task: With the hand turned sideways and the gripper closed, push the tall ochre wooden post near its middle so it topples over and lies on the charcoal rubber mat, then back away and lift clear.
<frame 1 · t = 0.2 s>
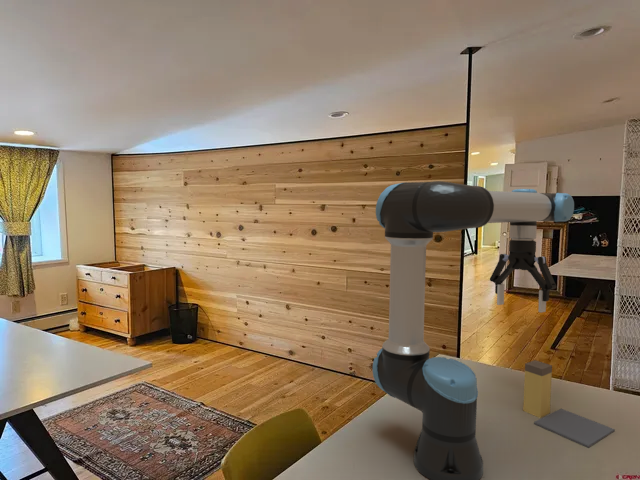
hand: (520, 308, 133), 27 cm above the table, tool pointing down, fingers open, 13 cm apart
ochre post: (536, 412, 123), on the table
charcoal mat: (573, 427, 115), on the table
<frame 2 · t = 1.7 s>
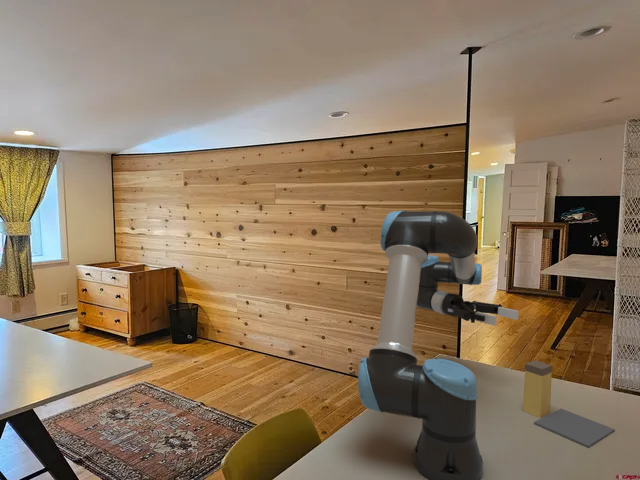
hand: (506, 318, 129), 25 cm above the table, tool horizontal, fingers open, 10 cm apart
nothing on the table moved.
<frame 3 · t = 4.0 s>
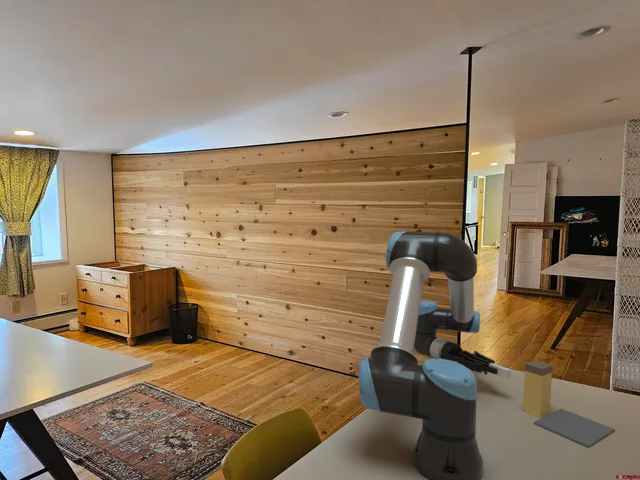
hand: (508, 374, 130), 8 cm above the table, tool horizontal, fingers closed
nothing on the table moved.
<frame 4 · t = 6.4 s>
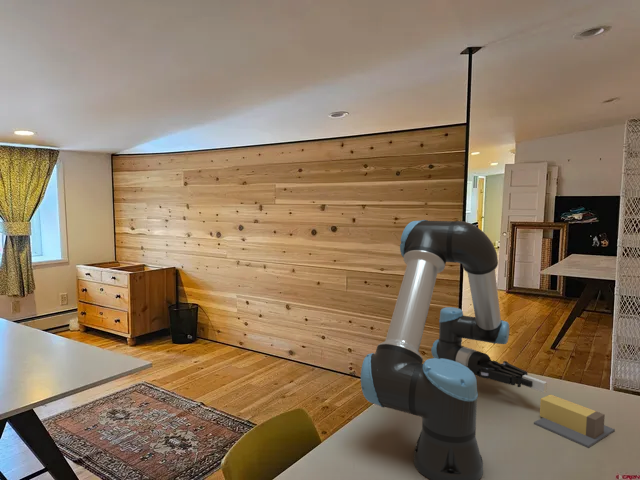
hand: (545, 387, 121), 8 cm above the table, tool horizontal, fingers closed
ochre post: (545, 405, 121), point 3 cm above the table, tilted 90°, touching charcoal mat
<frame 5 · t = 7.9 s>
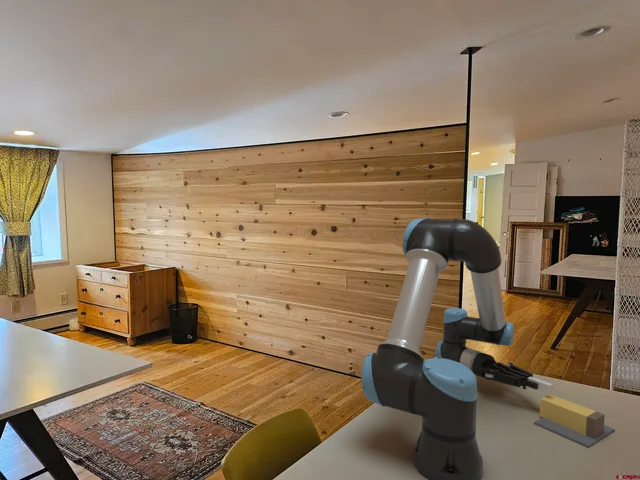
hand: (551, 389, 119), 8 cm above the table, tool horizontal, fingers closed
nothing on the table moved.
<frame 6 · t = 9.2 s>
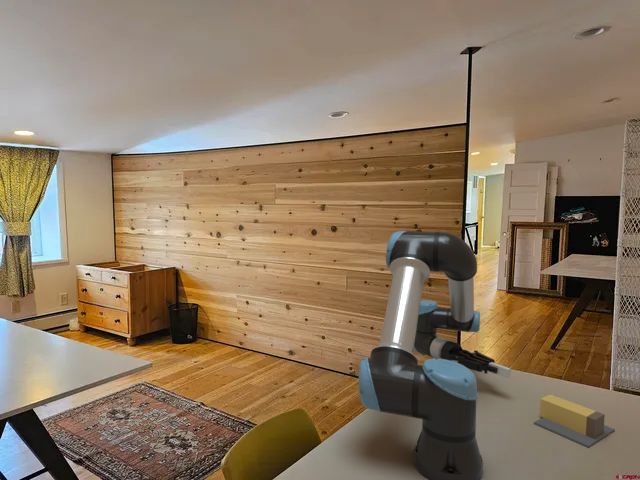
hand: (509, 373, 130), 8 cm above the table, tool horizontal, fingers closed
nothing on the table moved.
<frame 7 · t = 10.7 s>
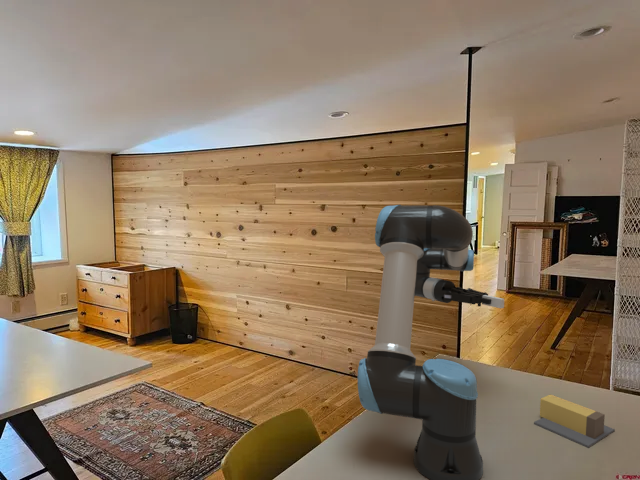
hand: (502, 303, 127), 30 cm above the table, tool horizontal, fingers closed
nothing on the table moved.
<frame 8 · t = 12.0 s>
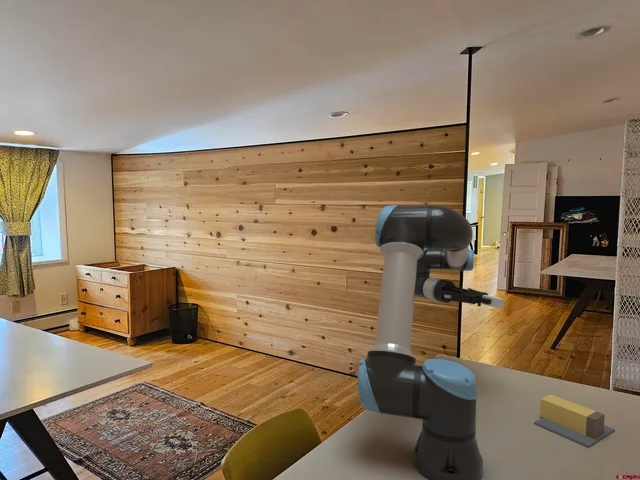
hand: (502, 303, 127), 30 cm above the table, tool horizontal, fingers closed
nothing on the table moved.
at the end: ochre post tilted 90°; ochre post touching charcoal mat; ochre post inside the target area (5.6 cm from its centre), point 3.0 cm above the table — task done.
